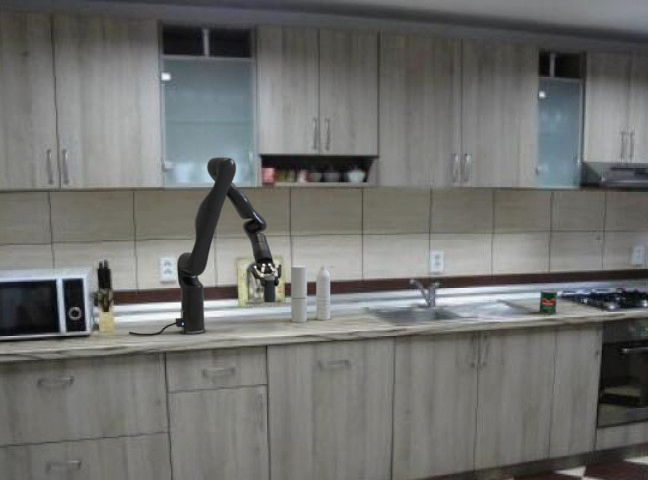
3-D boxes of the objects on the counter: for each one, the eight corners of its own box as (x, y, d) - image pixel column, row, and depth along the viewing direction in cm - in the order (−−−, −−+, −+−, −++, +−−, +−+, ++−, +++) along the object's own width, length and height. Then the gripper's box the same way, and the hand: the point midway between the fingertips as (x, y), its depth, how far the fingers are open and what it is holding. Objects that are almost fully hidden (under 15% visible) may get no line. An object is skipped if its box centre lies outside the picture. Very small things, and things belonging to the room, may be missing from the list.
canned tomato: (543, 314, 302) (545, 292, 300) (536, 311, 310) (537, 289, 308) (558, 314, 303) (560, 292, 301) (551, 311, 311) (552, 289, 309)
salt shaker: (265, 302, 261) (265, 277, 259) (262, 300, 266) (261, 275, 264) (276, 302, 263) (276, 276, 261) (273, 300, 268) (273, 274, 266)
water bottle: (319, 320, 284) (319, 266, 280) (314, 318, 290) (314, 265, 286) (336, 319, 288) (337, 265, 283) (331, 316, 294) (331, 264, 289)
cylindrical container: (309, 319, 286) (309, 266, 282) (303, 322, 279) (303, 267, 275) (295, 318, 288) (294, 265, 284) (288, 321, 282) (288, 267, 277)
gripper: (247, 249, 265) (256, 281, 256) (279, 248, 270) (288, 279, 262) (244, 260, 270) (252, 291, 262) (276, 259, 276) (284, 290, 267)
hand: (270, 285), depth 262 cm, fingers closed on salt shaker, 5 cm apart
